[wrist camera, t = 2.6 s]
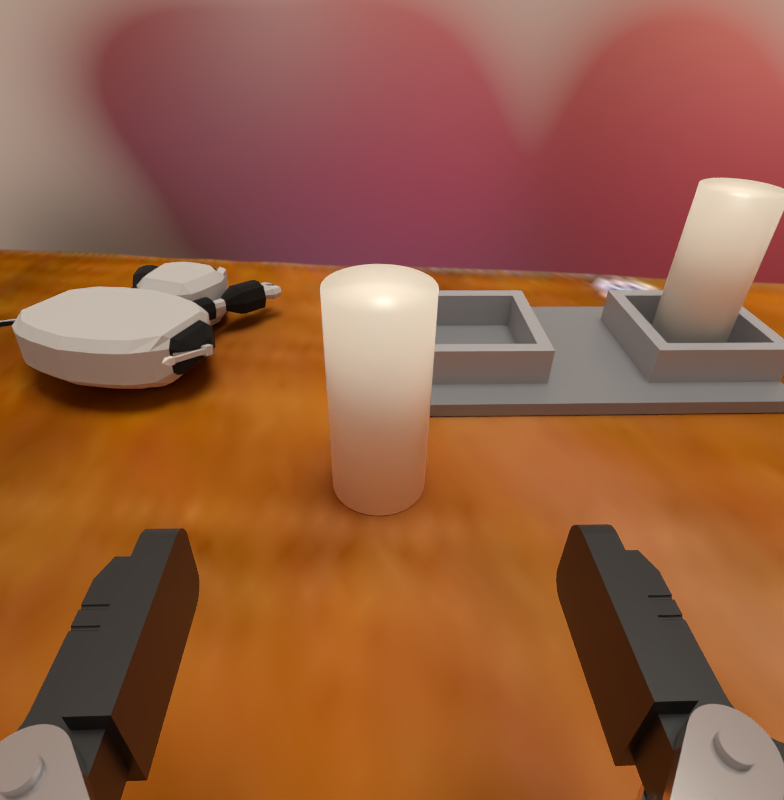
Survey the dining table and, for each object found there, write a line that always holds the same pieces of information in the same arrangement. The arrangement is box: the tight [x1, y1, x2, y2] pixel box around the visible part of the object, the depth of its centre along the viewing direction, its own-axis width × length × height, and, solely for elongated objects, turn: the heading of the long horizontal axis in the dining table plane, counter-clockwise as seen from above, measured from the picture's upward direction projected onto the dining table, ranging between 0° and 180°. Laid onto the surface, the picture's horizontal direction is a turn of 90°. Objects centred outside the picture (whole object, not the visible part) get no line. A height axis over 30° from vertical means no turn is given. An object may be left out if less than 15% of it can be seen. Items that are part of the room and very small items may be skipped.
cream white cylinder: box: [320, 264, 439, 516], centre depth 23 cm, size 4×4×10 cm
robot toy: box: [0, 262, 281, 389], centre depth 35 cm, size 12×4×15 cm
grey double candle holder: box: [430, 178, 784, 416], centre depth 32 cm, size 22×12×11 cm, turn 92°
